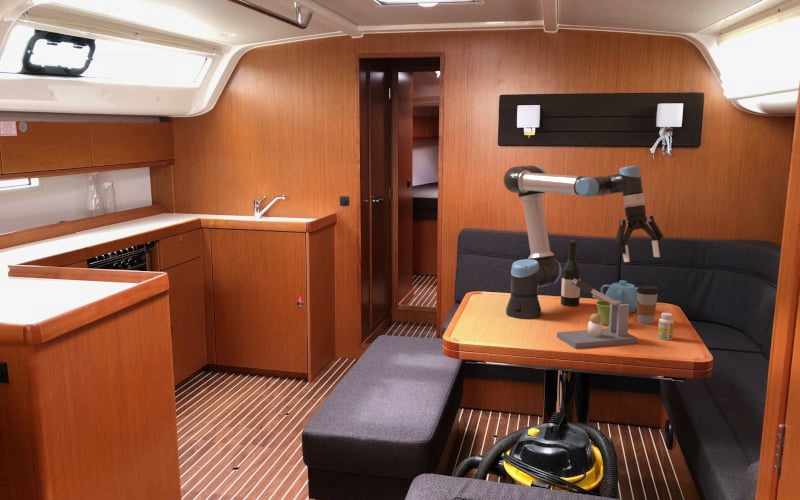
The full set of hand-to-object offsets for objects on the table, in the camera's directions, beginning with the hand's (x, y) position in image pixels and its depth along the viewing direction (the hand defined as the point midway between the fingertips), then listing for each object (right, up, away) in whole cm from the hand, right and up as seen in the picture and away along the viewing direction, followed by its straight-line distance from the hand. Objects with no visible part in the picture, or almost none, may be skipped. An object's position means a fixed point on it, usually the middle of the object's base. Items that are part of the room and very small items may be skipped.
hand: (642, 259), depth 251 cm
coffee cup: (+8, -27, +17) cm, 33 cm away
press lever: (-21, -14, -10) cm, 27 cm away
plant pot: (-9, -27, +15) cm, 32 cm away
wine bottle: (-16, -22, +46) cm, 53 cm away
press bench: (-20, -31, -7) cm, 37 cm away
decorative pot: (+4, -24, +36) cm, 43 cm away
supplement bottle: (+7, -30, -4) cm, 31 cm away
